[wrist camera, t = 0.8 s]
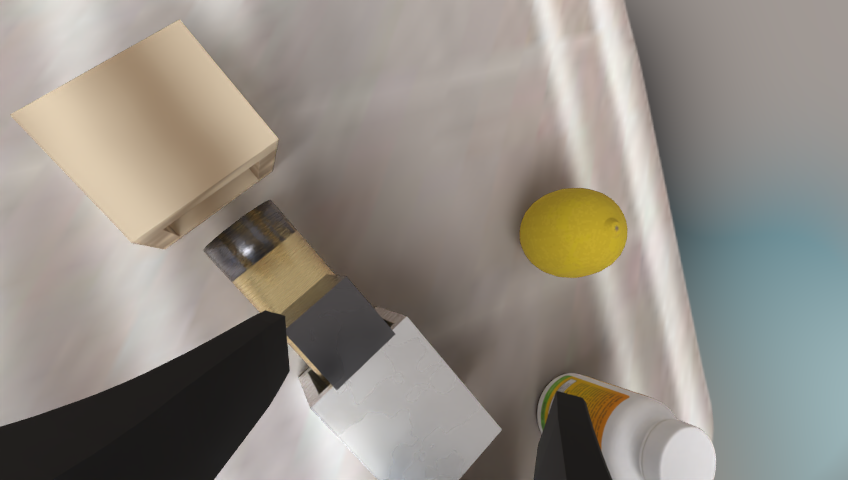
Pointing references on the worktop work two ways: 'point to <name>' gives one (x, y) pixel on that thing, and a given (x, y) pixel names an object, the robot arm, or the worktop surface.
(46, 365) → the worktop surface
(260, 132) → the socket block
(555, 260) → the lemon
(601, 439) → the supplement bottle
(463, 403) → the sleeve
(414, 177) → the worktop surface
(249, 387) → the robot arm
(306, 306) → the tube
